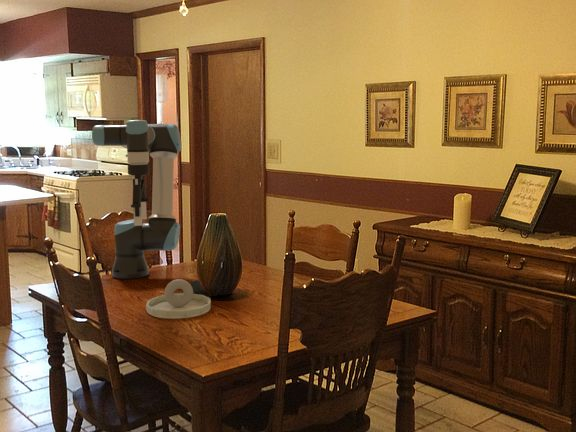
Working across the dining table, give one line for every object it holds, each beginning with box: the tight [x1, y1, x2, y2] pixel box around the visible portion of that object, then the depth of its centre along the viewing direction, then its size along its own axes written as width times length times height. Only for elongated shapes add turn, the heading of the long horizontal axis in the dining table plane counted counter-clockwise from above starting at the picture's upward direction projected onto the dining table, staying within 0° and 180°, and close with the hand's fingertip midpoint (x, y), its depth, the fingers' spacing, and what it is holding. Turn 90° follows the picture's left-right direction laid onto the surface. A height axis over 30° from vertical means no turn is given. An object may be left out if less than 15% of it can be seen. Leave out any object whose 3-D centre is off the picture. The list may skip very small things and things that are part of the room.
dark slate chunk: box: [190, 279, 234, 298], centre depth 262 cm, size 15×22×5 cm
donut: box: [163, 278, 193, 307], centre depth 235 cm, size 10×3×10 cm, turn 102°
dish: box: [145, 292, 212, 320], centre depth 236 cm, size 22×22×3 cm
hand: (140, 222), depth 244 cm, fingers open, 13 cm apart
